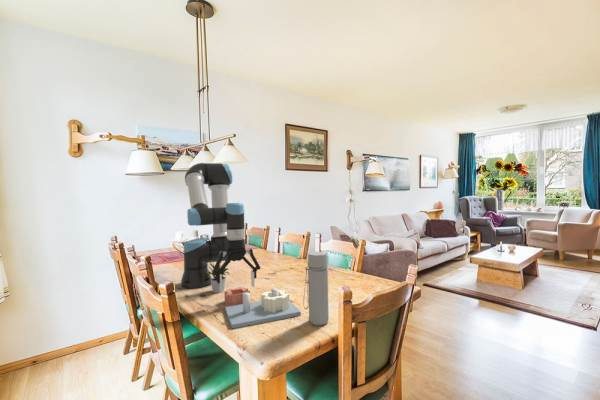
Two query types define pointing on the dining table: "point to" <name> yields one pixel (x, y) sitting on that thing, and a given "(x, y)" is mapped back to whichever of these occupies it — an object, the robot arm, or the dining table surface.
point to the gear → (235, 296)
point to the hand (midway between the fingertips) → (237, 288)
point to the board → (262, 309)
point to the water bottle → (317, 288)
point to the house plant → (214, 280)
